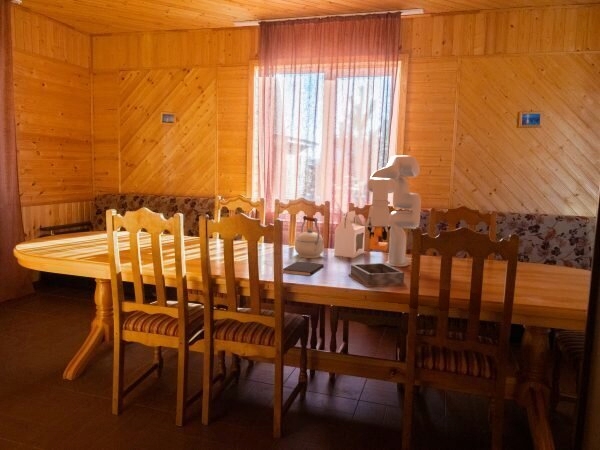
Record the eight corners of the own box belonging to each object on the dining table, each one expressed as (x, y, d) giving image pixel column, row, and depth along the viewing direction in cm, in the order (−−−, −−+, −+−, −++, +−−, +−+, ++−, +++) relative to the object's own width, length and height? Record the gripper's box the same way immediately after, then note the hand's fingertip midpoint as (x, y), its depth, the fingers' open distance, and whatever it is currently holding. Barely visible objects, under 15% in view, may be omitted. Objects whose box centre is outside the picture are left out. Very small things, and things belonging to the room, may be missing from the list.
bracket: (384, 251, 227) (385, 227, 225) (369, 250, 229) (370, 226, 227) (387, 247, 237) (389, 224, 235) (373, 246, 239) (374, 223, 237)
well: (383, 274, 249) (383, 262, 248) (405, 285, 226) (406, 273, 225) (348, 275, 243) (349, 264, 242) (368, 287, 220) (368, 274, 219)
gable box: (345, 250, 317) (346, 209, 313) (364, 252, 311) (365, 210, 308) (333, 255, 297) (335, 212, 293) (353, 257, 291) (355, 213, 288)
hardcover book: (282, 273, 247) (282, 269, 246) (297, 265, 268) (297, 261, 268) (310, 276, 241) (310, 272, 241) (323, 268, 263) (323, 264, 263)
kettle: (288, 253, 299) (289, 215, 296) (313, 252, 307) (314, 214, 304) (307, 261, 277) (308, 219, 274) (333, 259, 286) (334, 218, 282)
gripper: (392, 203, 236) (390, 238, 238) (360, 203, 231) (359, 239, 233) (399, 204, 228) (397, 240, 231) (366, 204, 223) (365, 241, 226)
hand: (378, 239), depth 232 cm, fingers closed on bracket, 6 cm apart
